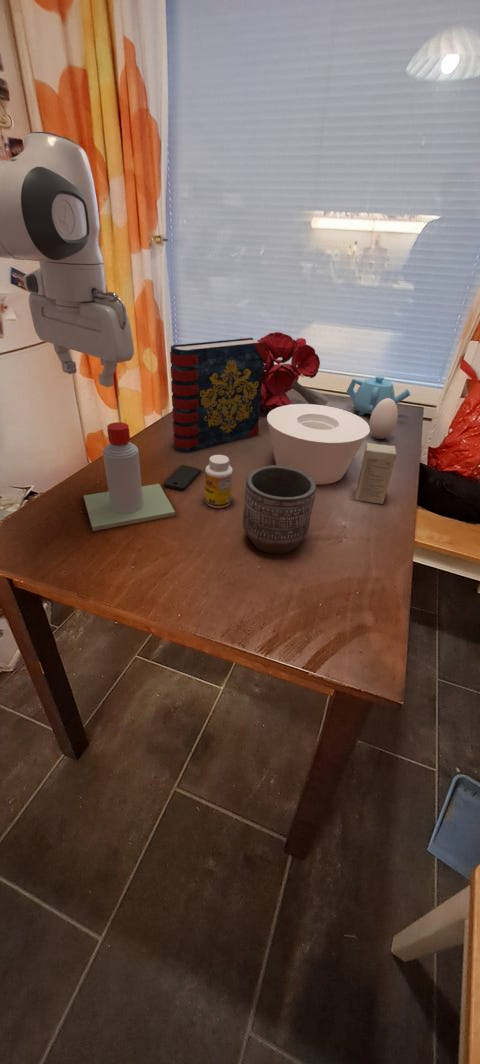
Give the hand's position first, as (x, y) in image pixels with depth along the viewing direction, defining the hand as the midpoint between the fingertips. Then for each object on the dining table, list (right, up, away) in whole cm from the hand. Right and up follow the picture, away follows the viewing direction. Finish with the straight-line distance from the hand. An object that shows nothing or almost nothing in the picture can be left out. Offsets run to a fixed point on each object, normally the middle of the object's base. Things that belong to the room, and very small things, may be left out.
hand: (87, 379), depth 71 cm
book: (+19, -1, +45) cm, 49 cm away
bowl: (+43, -10, +35) cm, 56 cm away
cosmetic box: (+55, -18, +24) cm, 63 cm away
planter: (+32, -28, +9) cm, 43 cm away
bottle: (+3, -20, +14) cm, 25 cm away
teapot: (+70, +14, +70) cm, 101 cm away
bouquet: (+39, +14, +68) cm, 80 cm away
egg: (+66, +2, +53) cm, 85 cm away
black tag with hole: (+12, -14, +26) cm, 32 cm away
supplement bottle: (+21, -20, +19) cm, 34 cm away
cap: (+4, -7, +4) cm, 9 cm away
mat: (+3, -21, +15) cm, 26 cm away
